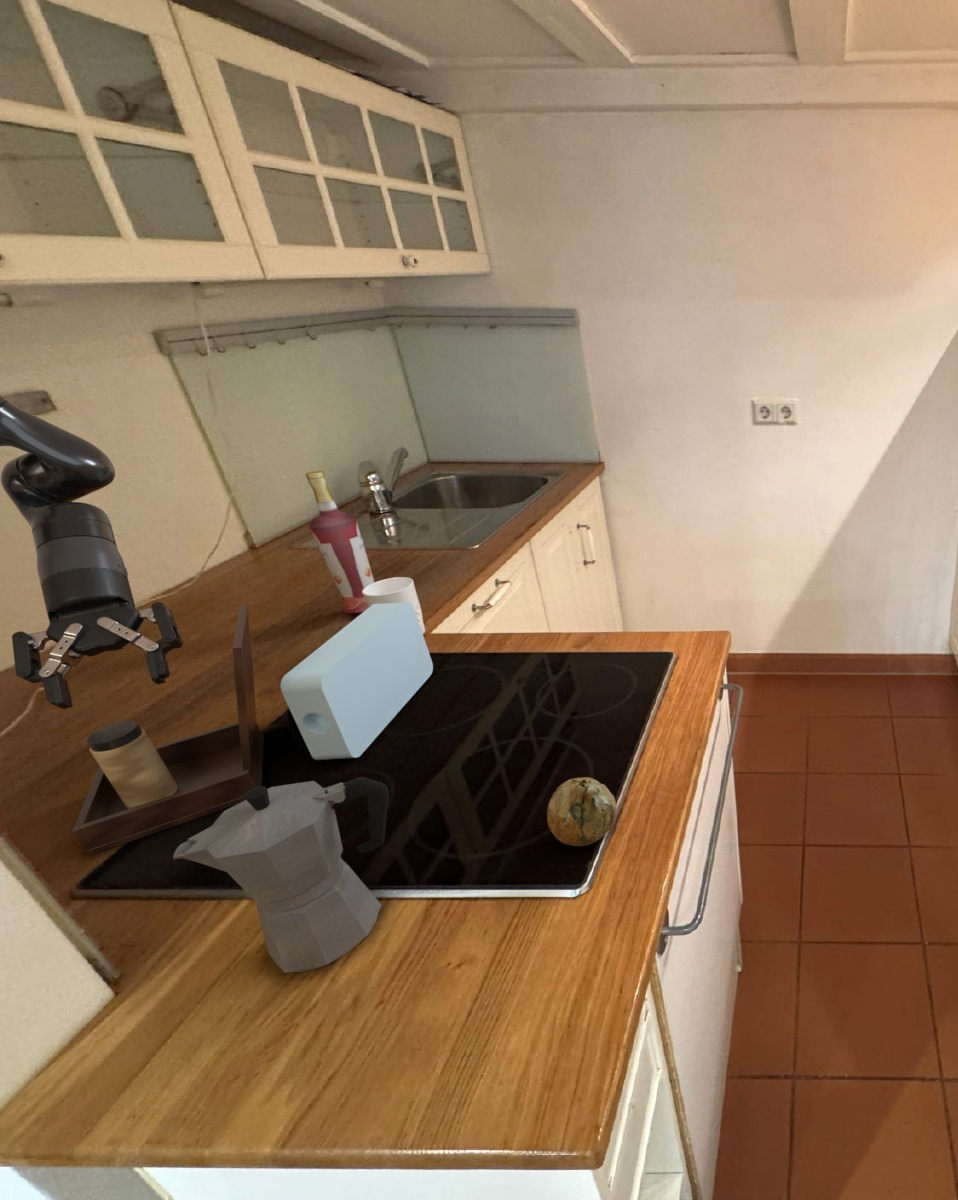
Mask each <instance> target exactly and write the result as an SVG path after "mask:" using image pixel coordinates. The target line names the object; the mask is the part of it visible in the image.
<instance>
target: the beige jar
mask: <svg viewBox="0 0 958 1200" xmlns="http://www.w3.org/2000/svg"><path fill="white" fill-rule="evenodd" d="M86 743H87V744H88V746H89V752H90V754H91V756H92V757H93V758H94V761H96V763H97V764H98V767H99V766H100V767H101V769H102V771H103V772H104V774H105V775H106V777H107V778H108V780H109V781H110V783H111V784H112V786H113V787H114V789H115V790H116V792H117V793H118V795H119V797H120V798H121V800H122V801H123V803H124V804H125V806H126V807H127V808H128V809H131V808H134V807H137V806H140V805H143V804H146V803H149V802H152V801H155V800H158V799H161V798H164V797H167V796H170V795H173V794H174V793H175V792H176V791H177V789H178V785H177V784H176V782H175V780H174V779H173V777H172V775H171V774H170V772H169V770H168V769H167V767H166V765H165V764H164V762H163V760H162V759H161V757H160V755H159V753H158V752H157V750H156V748H155V747H156V746H155V745H154V744H153V742H152V740H151V738H150V737H149V735H148V733H147V731H146V730H145V729H144V728H141V725H140V724H139V723H138V722H137V721H135V720H124V721H120V722H115V723H112V724H109V725H107V726H104V727H102V728H100V729H98V730H96V731H95V732H93V733H91V734H90V735H89V736H88V737H87V738H86Z"/></svg>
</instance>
